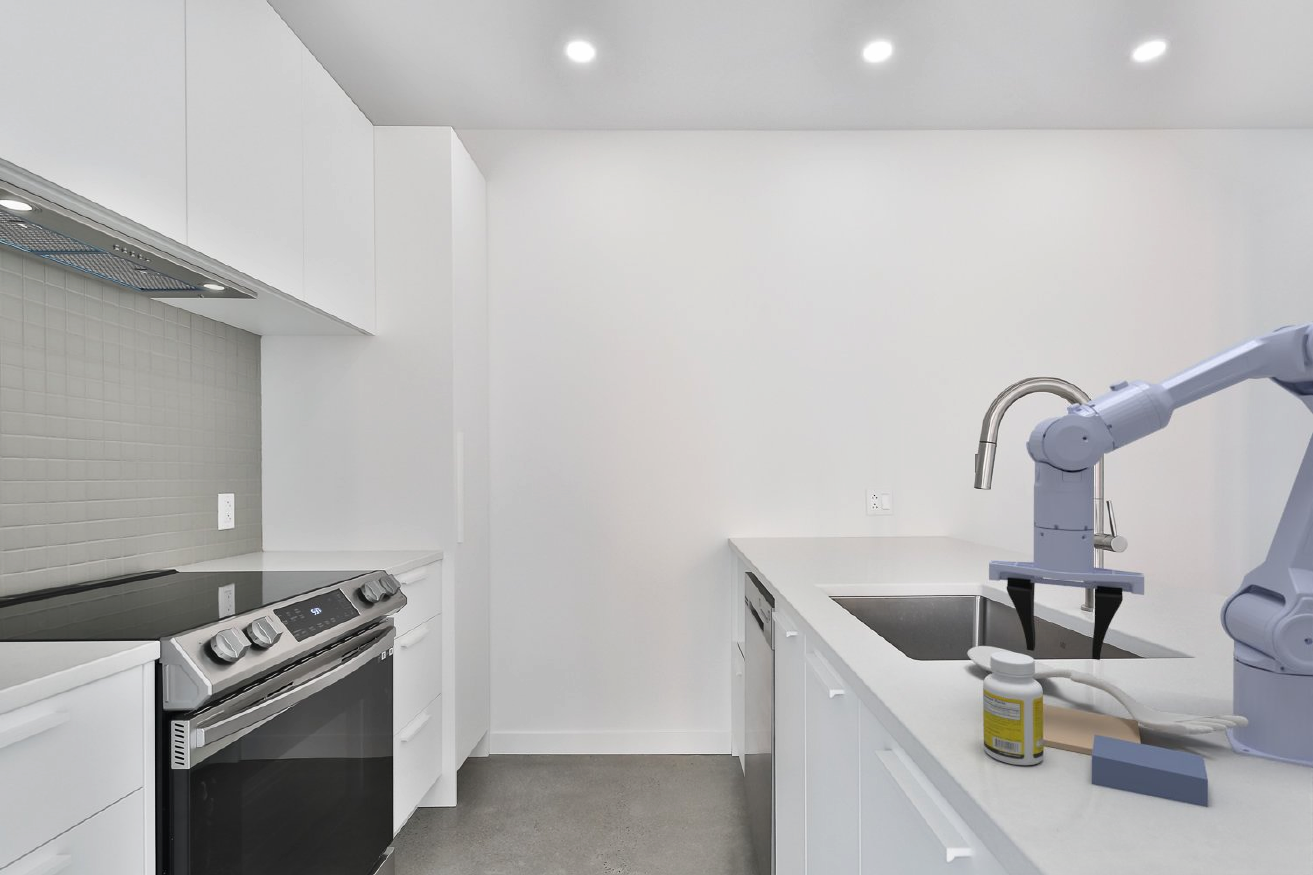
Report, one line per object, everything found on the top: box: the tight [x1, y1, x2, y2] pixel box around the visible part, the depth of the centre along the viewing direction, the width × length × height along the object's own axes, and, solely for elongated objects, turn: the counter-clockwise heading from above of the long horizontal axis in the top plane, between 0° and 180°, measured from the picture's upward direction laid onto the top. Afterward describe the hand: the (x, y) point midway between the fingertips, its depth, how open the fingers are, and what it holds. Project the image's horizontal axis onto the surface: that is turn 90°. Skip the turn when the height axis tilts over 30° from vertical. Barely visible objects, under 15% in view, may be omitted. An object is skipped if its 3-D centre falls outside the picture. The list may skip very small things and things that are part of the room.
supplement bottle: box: [982, 651, 1044, 766], centre depth 73 cm, size 5×5×10 cm
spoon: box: [966, 645, 1249, 736], centre depth 86 cm, size 9×32×4 cm, turn 18°
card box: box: [1091, 735, 1209, 808], centre depth 67 cm, size 8×6×3 cm, turn 57°
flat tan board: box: [1043, 703, 1142, 756], centre depth 79 cm, size 14×11×1 cm
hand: (1062, 652), depth 79 cm, fingers open, 5 cm apart
